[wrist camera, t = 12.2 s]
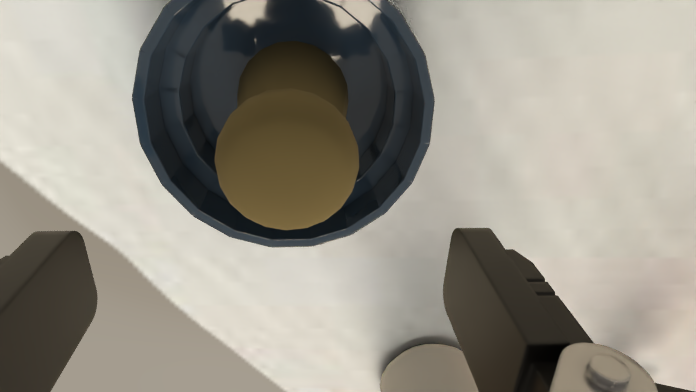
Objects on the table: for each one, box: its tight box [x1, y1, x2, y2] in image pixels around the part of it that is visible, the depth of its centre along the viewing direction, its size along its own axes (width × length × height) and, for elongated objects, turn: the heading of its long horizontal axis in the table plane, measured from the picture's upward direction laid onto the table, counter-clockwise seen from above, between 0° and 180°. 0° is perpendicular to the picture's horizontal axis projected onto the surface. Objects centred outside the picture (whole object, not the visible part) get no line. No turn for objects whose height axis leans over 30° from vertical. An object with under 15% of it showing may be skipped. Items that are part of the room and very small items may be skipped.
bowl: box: [132, 0, 435, 247], centre depth 23 cm, size 13×13×6 cm
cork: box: [214, 41, 359, 230], centre depth 20 cm, size 6×6×11 cm
